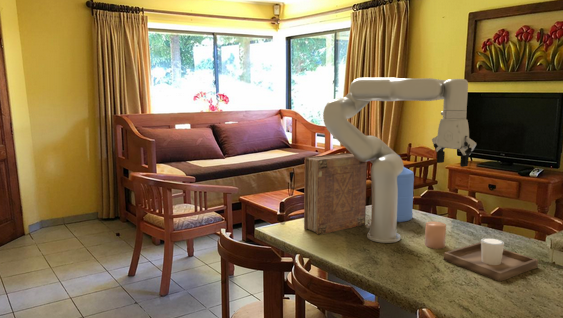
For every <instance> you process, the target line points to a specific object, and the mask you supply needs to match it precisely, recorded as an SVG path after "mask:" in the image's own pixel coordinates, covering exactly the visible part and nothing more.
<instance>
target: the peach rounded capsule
mask: <svg viewBox="0 0 563 318" xmlns="http://www.w3.org/2000/svg"><path fill="white" fill-rule="evenodd" d="M424 230H425V231H424V233H425V234H424V246H425V247H427V248H430V249H436V250H437V249H438V250H439V249H440V250H441V249H444V248H445V247H446V235H447V224H446V223H444V222H440V221H433V220H432V221H426V222H425V229H424Z"/></svg>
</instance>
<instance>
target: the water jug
mask: <svg viewBox="0 0 563 318" xmlns="http://www.w3.org/2000/svg"><path fill="white" fill-rule="evenodd" d="M397 155H398V156H399V157H400V158H401V155H399V154H397ZM414 182H415V175H414V170H413V171H412V170H411V169H408V168H407V167H405V166H404V167H403V171H402V172H401V174H400V175H399V176H397V187H398V198H397V223H402V222H408V221H410V220H412V219H413V201H414Z"/></svg>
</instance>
